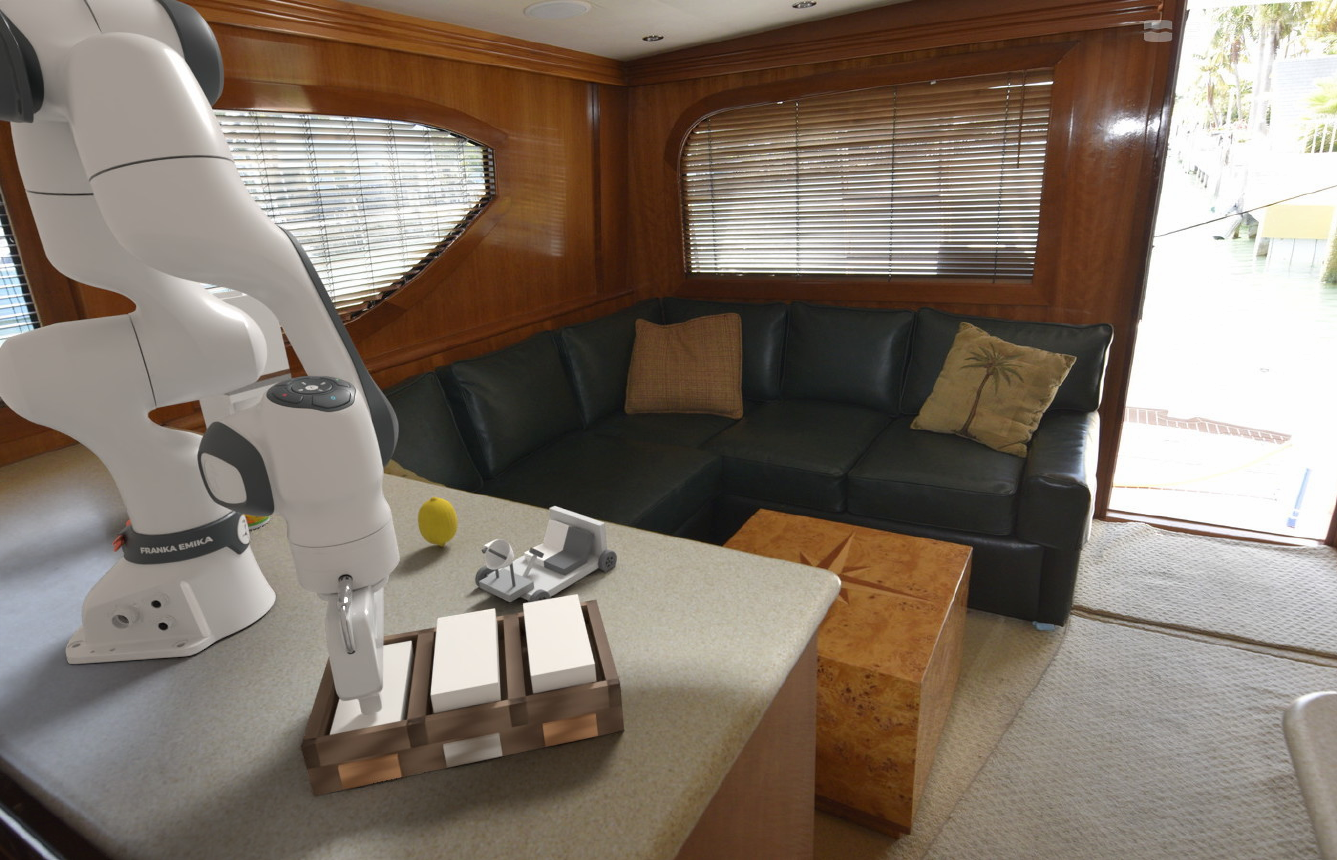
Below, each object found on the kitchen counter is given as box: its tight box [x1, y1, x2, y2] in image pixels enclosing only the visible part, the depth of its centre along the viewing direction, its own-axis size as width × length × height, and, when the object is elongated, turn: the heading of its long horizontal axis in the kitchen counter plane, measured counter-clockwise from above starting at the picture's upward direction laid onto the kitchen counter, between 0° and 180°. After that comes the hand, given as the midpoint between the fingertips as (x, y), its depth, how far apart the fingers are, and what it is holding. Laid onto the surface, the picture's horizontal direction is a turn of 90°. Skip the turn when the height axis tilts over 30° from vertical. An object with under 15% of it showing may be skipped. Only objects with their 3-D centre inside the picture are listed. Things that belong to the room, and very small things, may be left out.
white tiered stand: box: [198, 289, 292, 429], centre depth 134 cm, size 11×11×35 cm
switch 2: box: [431, 608, 501, 713], centre depth 75 cm, size 6×13×2 cm, turn 13°
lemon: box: [417, 496, 458, 547], centre depth 110 cm, size 6×6×8 cm
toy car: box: [474, 505, 618, 603], centre depth 99 cm, size 18×10×12 cm
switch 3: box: [522, 594, 596, 694], centre depth 76 cm, size 6×13×2 cm, turn 13°
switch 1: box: [330, 641, 415, 735], centre depth 73 cm, size 6×13×2 cm, turn 14°
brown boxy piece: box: [299, 599, 625, 797], centre depth 76 cm, size 28×16×6 cm, turn 103°
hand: (373, 678), depth 73 cm, fingers open, 8 cm apart
